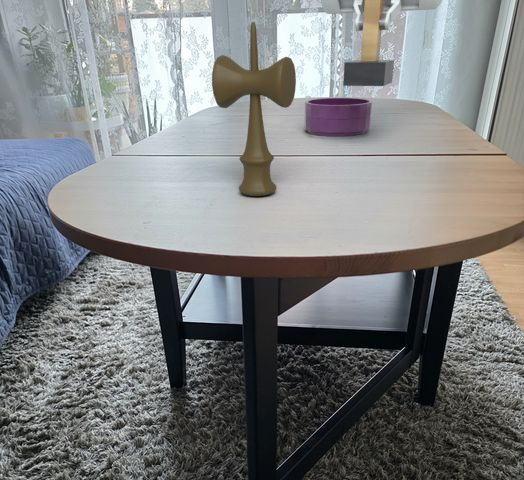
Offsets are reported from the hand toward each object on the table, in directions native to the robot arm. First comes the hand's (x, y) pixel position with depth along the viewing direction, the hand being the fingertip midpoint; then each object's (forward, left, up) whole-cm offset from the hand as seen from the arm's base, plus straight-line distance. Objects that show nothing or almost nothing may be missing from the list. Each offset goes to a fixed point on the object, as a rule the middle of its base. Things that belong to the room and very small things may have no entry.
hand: (371, 27), depth 84 cm
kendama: (+21, +27, -19) cm, 39 cm away
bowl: (+1, -22, -19) cm, 29 cm away
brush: (0, -1, -8) cm, 8 cm away
